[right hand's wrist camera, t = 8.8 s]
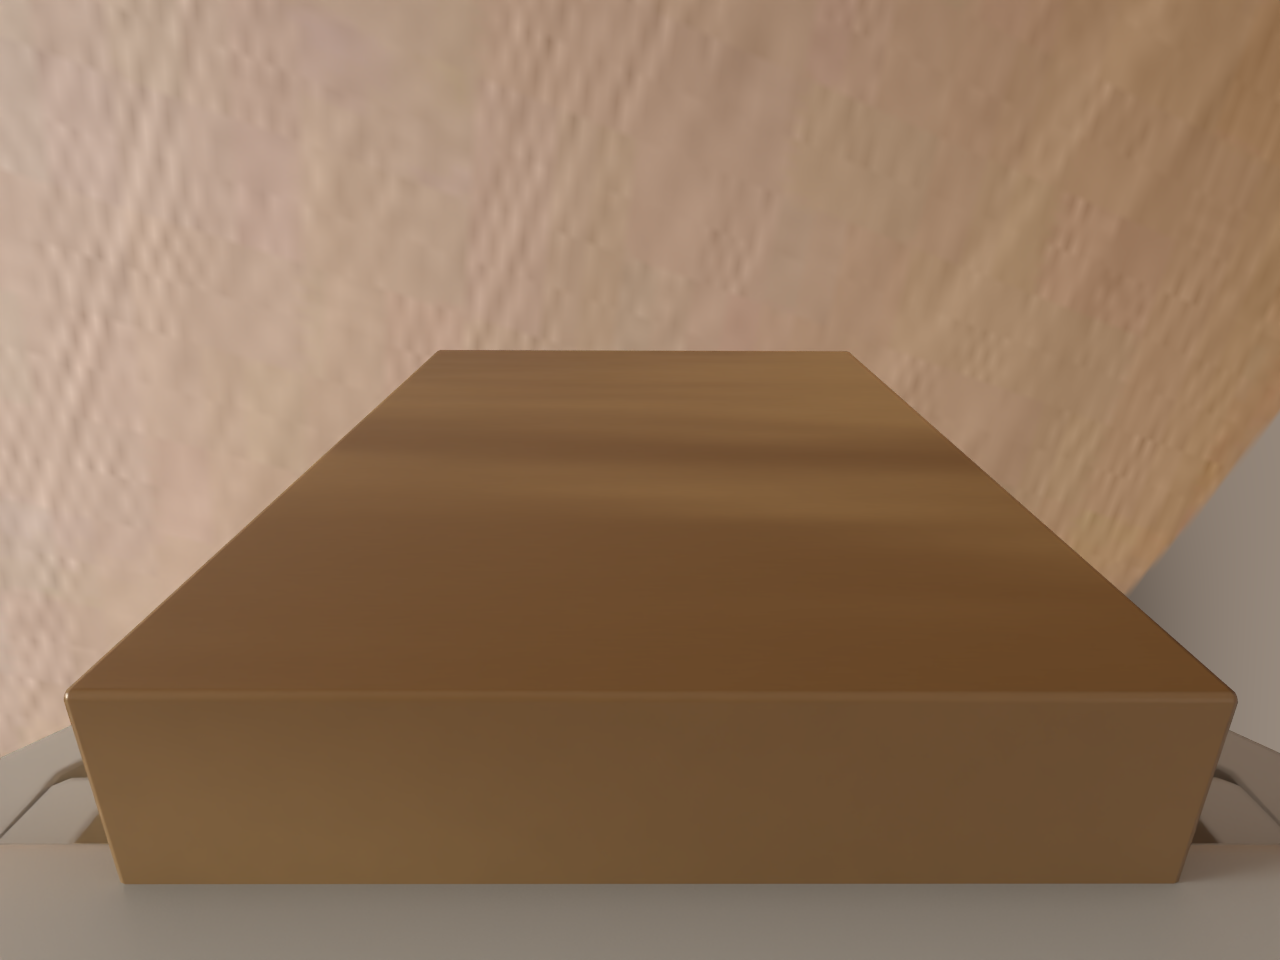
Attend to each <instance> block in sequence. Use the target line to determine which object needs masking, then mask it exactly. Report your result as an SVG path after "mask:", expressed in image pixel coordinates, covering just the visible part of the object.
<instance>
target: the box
mask: <svg viewBox="0 0 1280 960" xmlns="http://www.w3.org/2000/svg"><path fill="white" fill-rule="evenodd" d="M64 702H65V706H66V709H67V712H68V715H69V718H70V722H71V725H72V728H73V731H74V735H75V738H76V741H77V744H78V747H79V751H80V754H81V757H82V760H83V764H84V767H85V770H86V773H87V776H88V780H89V783H90V786H91V789H92V792H93V796H94V799H95V802H96V805H97V809H98V812H99V815H100V818H101V821H102V825H103V828H104V831H105V834H106V838H107V841H108V844H109V847H110V850H111V854H112V857H113V860H114V863H115V866H116V870H117V873H118V876H119V879H120V882H121V883H123V884H1174V883H1177V882H1179V879H1180V876H1181V873H1182V870H1183V867H1184V864H1185V861H1186V858H1187V855H1188V852H1189V849H1190V846H1191V843H1192V840H1193V837H1194V833H1195V830H1196V827H1197V824H1198V821H1199V818H1200V815H1201V812H1202V809H1203V806H1204V803H1205V800H1206V797H1207V794H1208V791H1209V788H1210V785H1211V782H1212V779H1213V776H1214V773H1215V770H1216V767H1217V764H1218V761H1219V758H1220V755H1221V752H1222V749H1223V746H1224V743H1225V740H1226V737H1227V734H1228V731H1229V728H1230V724H1231V722H1232V719H1233V715H1234V713H1235V709H1236V706H1237V703H1238V701H1237V696H1236V694H1235V692H1234V691H1233V690H1232V689H1230V688H1229V687H1228V686H1227V685H1226V684H1225V683H1224V682H1222V681H1221V680H1220V679H1219V678H1218V677H1217V676H1216V675H1215V674H1213V673H1212V672H1211V671H1210V670H1209V669H1208V668H1207V667H1205V666H1204V665H1203V664H1202V663H1201V662H1200V661H1199V660H1197V659H1196V658H1195V657H1194V656H1193V655H1192V654H1191V653H1190V652H1188V651H1187V650H1186V649H1185V648H1184V647H1183V646H1182V645H1180V644H1179V643H1178V642H1177V641H1176V640H1175V639H1174V638H1173V637H1171V636H1170V635H1169V634H1168V633H1167V632H1166V631H1165V630H1163V629H1162V628H1161V627H1160V626H1159V625H1158V624H1157V623H1156V622H1154V621H1153V620H1152V619H1151V618H1150V617H1149V616H1148V615H1146V614H1145V613H1144V612H1143V611H1142V610H1141V609H1140V608H1139V607H1137V606H1136V605H1135V604H1134V603H1133V602H1132V601H1131V600H1129V599H1128V598H1127V597H1126V596H1125V595H1124V594H1123V593H1122V592H1120V591H1119V590H1118V589H1117V588H1116V587H1115V586H1114V585H1112V584H1111V583H1110V582H1109V581H1108V580H1107V579H1106V578H1105V577H1103V576H1102V575H1101V574H1100V573H1099V572H1098V571H1097V570H1095V569H1094V568H1093V567H1092V566H1091V565H1090V564H1089V563H1087V562H1086V561H1085V560H1084V559H1083V558H1082V557H1081V556H1080V555H1078V554H1077V553H1076V552H1075V551H1074V550H1073V549H1072V548H1070V547H1069V546H1068V545H1067V544H1066V543H1065V542H1064V541H1063V540H1061V539H1060V538H1059V537H1058V536H1057V535H1056V534H1055V533H1053V532H1052V531H1051V530H1050V529H1049V528H1048V527H1047V526H1046V525H1044V524H1043V523H1042V522H1041V521H1040V520H1039V519H1038V518H1036V517H1035V516H1034V515H1033V514H1032V513H1031V512H1030V511H1029V510H1027V509H1026V508H1025V507H1024V506H1023V505H1022V504H1021V503H1019V502H1018V501H1017V500H1016V499H1015V498H1014V497H1013V496H1012V495H1010V494H1009V493H1008V492H1007V491H1006V490H1005V489H1004V488H1002V487H1001V486H1000V485H999V484H998V483H997V482H996V481H994V480H993V479H992V478H991V477H990V476H989V475H988V474H987V473H985V472H984V471H983V470H982V469H981V468H980V467H979V466H977V465H976V464H975V463H974V462H973V461H972V460H971V459H970V458H968V457H967V456H966V455H965V454H964V453H963V452H962V451H960V450H959V449H958V448H957V447H956V446H955V445H954V444H953V443H951V442H950V441H949V440H948V439H947V438H946V437H945V436H943V435H942V434H941V433H940V432H939V431H938V430H937V429H936V428H934V427H933V426H932V425H931V424H930V423H929V422H928V421H926V420H925V419H924V418H923V417H922V416H921V415H920V414H919V413H917V412H916V411H915V410H914V409H913V408H912V407H911V406H909V405H908V404H907V403H906V402H905V401H904V400H903V399H901V398H900V397H899V396H898V395H897V394H896V393H895V392H894V391H892V390H891V389H890V388H889V387H888V386H887V385H886V384H884V383H883V382H882V381H881V380H880V379H879V378H878V377H877V376H875V375H874V374H873V373H872V372H871V371H870V370H869V369H867V368H866V367H865V366H864V365H863V364H862V363H861V362H860V361H858V360H857V359H856V358H855V357H854V356H853V355H852V354H850V353H849V352H847V351H531V350H439V351H437V352H436V353H435V354H434V355H433V356H432V357H431V358H430V359H429V360H428V361H426V362H425V363H424V364H423V365H422V366H421V367H420V368H419V369H418V370H417V371H416V372H414V373H413V374H412V375H411V376H410V377H409V378H408V379H407V380H406V381H405V382H403V383H402V384H401V385H400V386H399V387H398V388H397V389H396V390H395V391H394V392H393V393H391V394H390V395H389V396H388V397H387V398H386V399H385V400H384V401H383V402H382V403H380V404H379V405H378V406H377V407H376V408H375V409H374V410H373V411H372V412H371V413H370V414H368V415H367V416H366V417H365V418H364V419H363V420H362V421H361V422H360V423H359V424H357V425H356V426H355V427H354V428H353V429H352V430H351V431H350V432H349V433H348V434H347V435H345V436H344V437H343V438H342V439H341V440H340V441H339V442H338V443H337V444H336V445H334V446H333V447H332V448H331V449H330V450H329V451H328V452H327V453H326V454H325V455H324V456H322V457H321V458H320V459H319V460H318V461H317V462H316V463H315V464H314V465H313V466H311V467H310V468H309V469H308V470H307V471H306V472H305V473H304V474H303V475H302V476H300V477H299V478H298V479H297V480H296V481H295V482H294V483H293V484H292V485H291V486H290V487H288V488H287V489H286V490H285V491H284V492H283V493H282V494H281V495H280V496H279V497H277V498H276V499H275V500H274V501H273V502H272V503H271V504H270V505H269V506H268V507H267V508H265V509H264V510H263V511H262V512H261V513H260V514H259V515H258V516H257V517H256V518H254V519H253V520H252V521H251V522H250V523H249V524H248V525H247V526H246V527H245V528H244V529H242V530H241V531H240V532H239V533H238V534H237V535H236V536H235V537H234V538H233V539H231V540H230V541H229V542H228V543H227V544H226V545H225V546H224V547H223V548H222V549H221V550H219V551H218V552H217V553H216V554H215V555H214V556H213V557H212V558H211V559H210V560H208V561H207V562H206V563H205V564H204V565H203V566H202V567H201V568H200V569H199V570H198V571H196V572H195V573H194V574H193V575H192V576H191V577H190V578H189V579H188V580H187V581H185V582H184V583H183V584H182V585H181V586H180V587H179V588H178V589H177V590H176V591H175V592H173V593H172V594H171V595H170V596H169V597H168V598H167V599H166V600H165V601H164V602H162V603H161V604H160V605H159V606H158V607H157V608H156V609H155V610H154V611H153V612H152V613H150V614H149V615H148V616H147V617H146V618H145V619H144V620H143V621H142V622H141V623H139V624H138V625H137V626H136V627H135V628H134V629H133V630H132V631H131V632H130V633H129V634H127V635H126V636H125V637H124V638H123V639H122V640H121V641H120V642H119V643H118V644H116V645H115V646H114V647H113V648H112V649H111V650H110V651H109V652H108V653H107V654H106V655H104V656H103V657H102V658H101V659H100V660H99V661H98V662H97V663H96V664H95V665H93V666H92V667H91V668H90V669H89V670H88V671H87V672H86V673H85V674H84V675H83V676H81V677H80V678H79V679H78V680H77V681H76V682H75V683H74V684H73V685H72V686H70V687H69V688H68V689H67V690H66V692H65V695H64Z"/></svg>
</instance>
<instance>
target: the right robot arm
mask: <svg viewBox="0 0 1280 960" xmlns="http://www.w3.org/2000/svg"><path fill="white" fill-rule="evenodd" d="M0 960H1280V753H1278V752H1276V751H1274V750H1272V749H1270V748H1267V747H1265V746H1263V745H1261V744H1259V743H1256V742H1254V741H1252V740H1250V739H1248V738H1245V737H1243V736H1241V735H1239V734H1237V733H1234V732H1232V731H1230V730H1229V731H1228V734H1227V737H1226V740H1225V743H1224V746H1223V749H1222V752H1221V755H1220V758H1219V761H1218V764H1217V767H1216V770H1215V773H1214V776H1213V779H1212V782H1211V785H1210V788H1209V791H1208V794H1207V797H1206V800H1205V803H1204V806H1203V809H1202V812H1201V815H1200V818H1199V821H1198V824H1197V827H1196V830H1195V833H1194V837H1193V840H1192V843H1191V846H1190V849H1189V852H1188V855H1187V858H1186V861H1185V864H1184V867H1183V870H1182V873H1181V876H1180V879H1179V882H1177V883H1174V884H123V883H121V882H120V879H119V876H118V873H117V870H116V866H115V863H114V860H113V857H112V854H111V850H110V847H109V844H108V841H107V838H106V834H105V831H104V828H103V825H102V821H101V818H100V815H99V812H98V809H97V805H96V802H95V799H94V796H93V792H92V789H91V786H90V783H89V780H88V776H87V773H86V770H85V767H84V764H83V760H82V757H81V754H80V751H79V747H78V744H77V741H76V738H75V735H74V731H73V728H72V725H71V726H69V727H66V728H64V729H62V730H60V731H58V732H56V733H53V734H51V735H49V736H47V737H45V738H42V739H40V740H38V741H36V742H34V743H32V744H29V745H27V746H25V747H23V748H21V749H19V750H16V751H14V752H12V753H10V754H8V755H5V756H3V757H1V758H0Z"/></svg>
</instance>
